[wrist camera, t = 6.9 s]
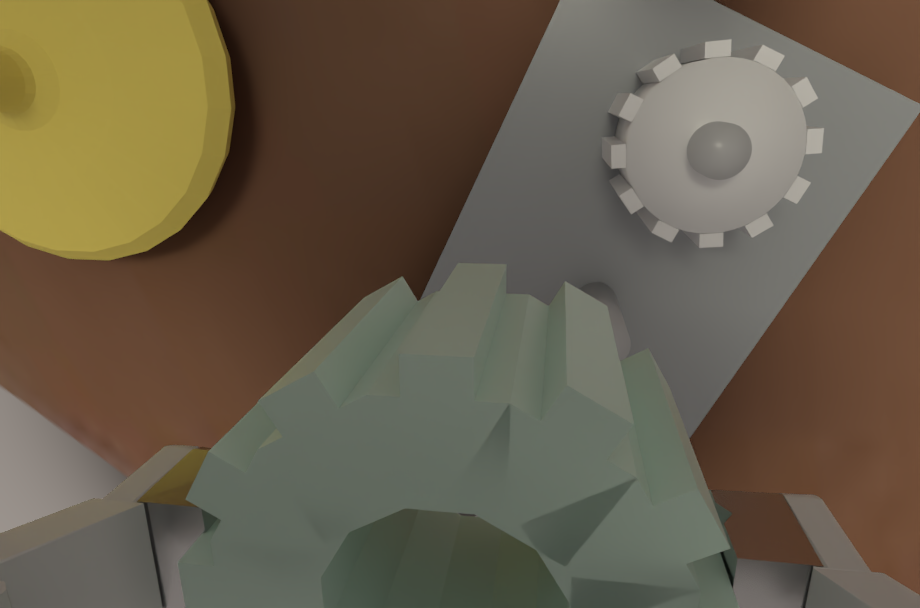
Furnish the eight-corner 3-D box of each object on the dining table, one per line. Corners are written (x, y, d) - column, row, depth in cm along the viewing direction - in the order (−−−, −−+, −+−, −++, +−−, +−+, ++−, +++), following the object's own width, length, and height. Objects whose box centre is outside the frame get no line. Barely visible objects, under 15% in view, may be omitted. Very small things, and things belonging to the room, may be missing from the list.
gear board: (597, 539, 34) (612, 679, 26) (362, 427, 33) (303, 533, 25) (896, 105, 25) (1059, 110, 17) (586, -51, 25) (604, -119, 17)
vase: (-119, -15, 29) (-313, -47, 23) (152, -184, 26) (15, -280, 19) (61, 287, 33) (-59, 336, 27) (318, 179, 30) (252, 205, 23)
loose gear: (286, 258, 11) (137, 340, 7) (698, 269, 10) (784, 372, 6) (317, 581, 13) (216, 779, 9) (661, 618, 12) (708, 859, 8)
